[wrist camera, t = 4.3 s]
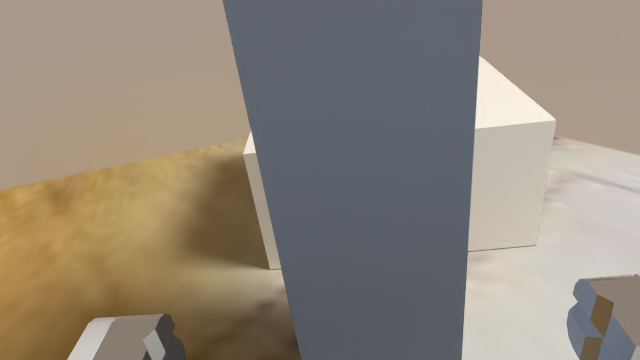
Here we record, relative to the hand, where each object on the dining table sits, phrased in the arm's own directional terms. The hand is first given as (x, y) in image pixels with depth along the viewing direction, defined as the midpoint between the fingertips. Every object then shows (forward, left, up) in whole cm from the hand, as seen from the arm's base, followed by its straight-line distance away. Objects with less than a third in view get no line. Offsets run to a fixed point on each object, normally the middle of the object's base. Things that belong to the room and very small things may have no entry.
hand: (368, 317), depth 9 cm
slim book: (-2, +3, -9) cm, 9 cm away
